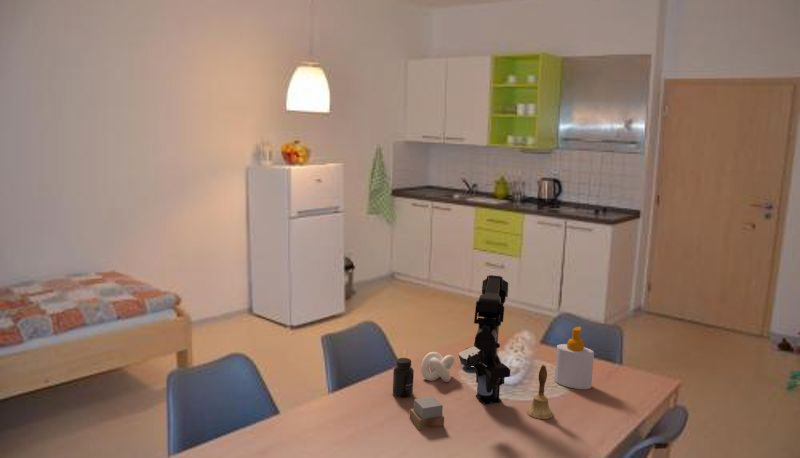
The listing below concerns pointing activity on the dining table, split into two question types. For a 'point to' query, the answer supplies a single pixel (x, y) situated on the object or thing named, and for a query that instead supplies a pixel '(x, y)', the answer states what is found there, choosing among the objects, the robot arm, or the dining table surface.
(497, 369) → the robot arm
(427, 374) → the white knot sculpture
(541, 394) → the hand bell
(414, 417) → the walnut slab
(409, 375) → the supplement bottle
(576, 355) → the soap bottle
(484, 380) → the grey rounded cylinder
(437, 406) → the grey slab
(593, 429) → the dining table surface
